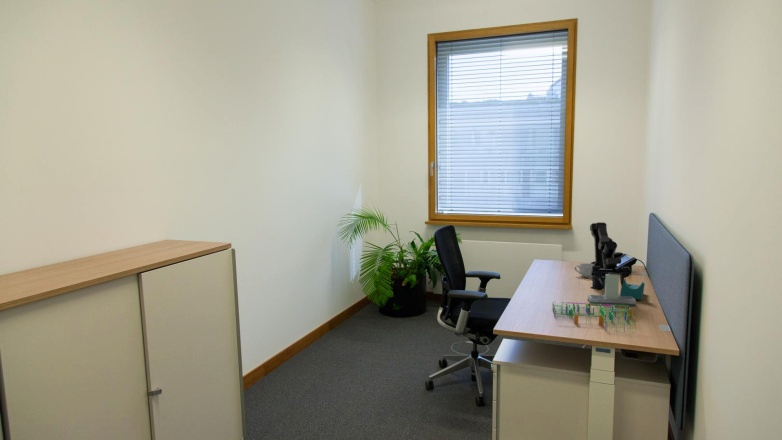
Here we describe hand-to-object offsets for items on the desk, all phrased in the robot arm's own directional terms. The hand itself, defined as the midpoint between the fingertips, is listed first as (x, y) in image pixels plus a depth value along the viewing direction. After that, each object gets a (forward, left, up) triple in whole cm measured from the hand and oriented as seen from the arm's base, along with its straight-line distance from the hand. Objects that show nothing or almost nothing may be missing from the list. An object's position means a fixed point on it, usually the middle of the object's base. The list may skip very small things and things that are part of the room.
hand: (612, 285), depth 256 cm
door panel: (-1, +1, -9) cm, 9 cm away
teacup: (-50, +43, -10) cm, 67 cm away
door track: (-1, +1, -10) cm, 10 cm away
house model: (+14, -32, -11) cm, 36 cm away
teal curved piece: (-4, +23, -10) cm, 25 cm away
